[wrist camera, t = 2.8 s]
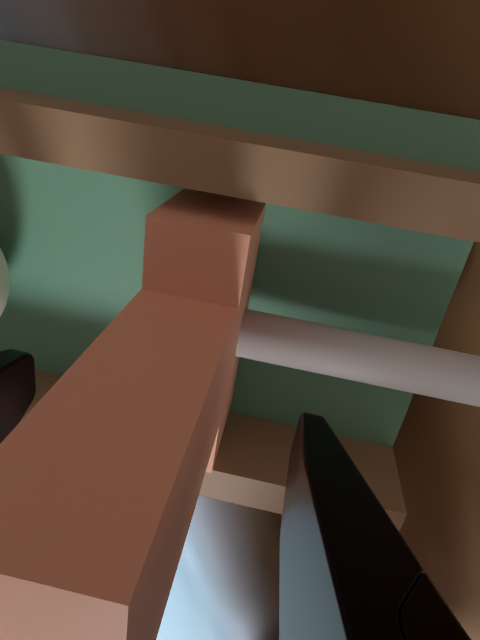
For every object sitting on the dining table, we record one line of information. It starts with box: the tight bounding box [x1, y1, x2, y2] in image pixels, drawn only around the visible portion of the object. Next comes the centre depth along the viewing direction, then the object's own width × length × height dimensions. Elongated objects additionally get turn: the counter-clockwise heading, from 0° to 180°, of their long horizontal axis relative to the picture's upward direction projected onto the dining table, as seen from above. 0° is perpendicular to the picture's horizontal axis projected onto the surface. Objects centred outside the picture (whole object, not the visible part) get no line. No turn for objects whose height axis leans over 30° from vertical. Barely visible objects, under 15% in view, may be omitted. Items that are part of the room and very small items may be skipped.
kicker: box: [0, 188, 480, 640], centre depth 8 cm, size 8×6×9 cm
